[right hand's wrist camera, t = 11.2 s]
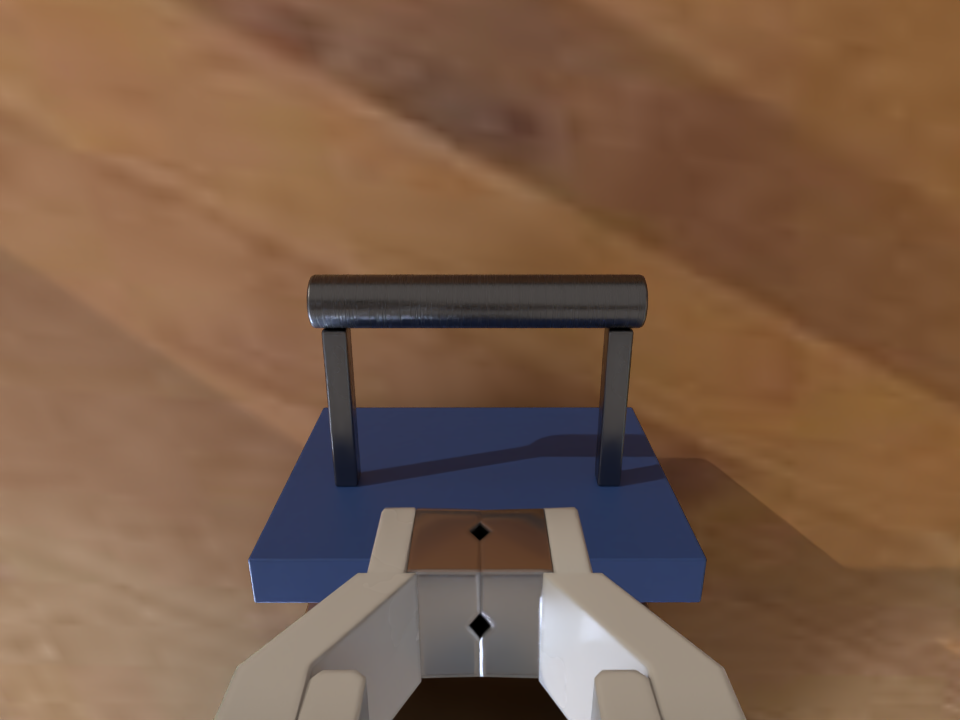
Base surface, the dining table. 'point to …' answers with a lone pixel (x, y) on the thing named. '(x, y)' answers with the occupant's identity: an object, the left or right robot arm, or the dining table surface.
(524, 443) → the drawer
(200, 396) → the dining table surface
